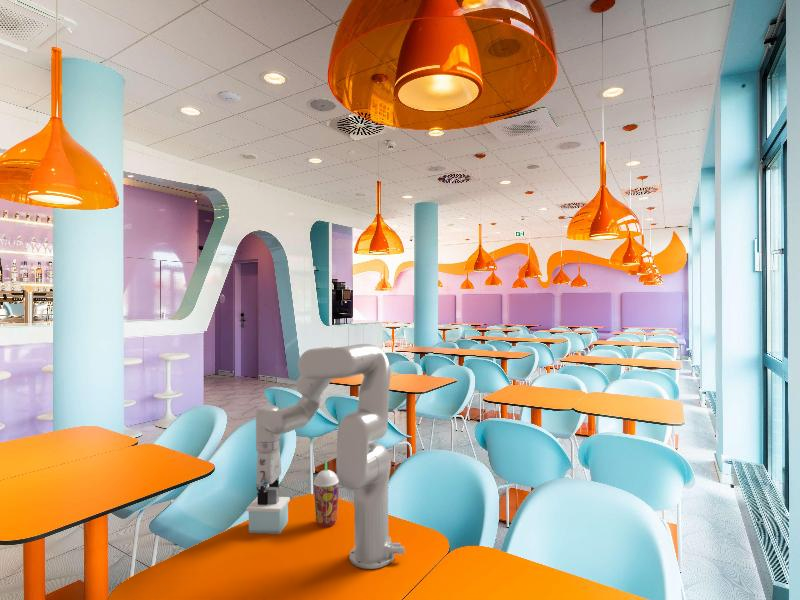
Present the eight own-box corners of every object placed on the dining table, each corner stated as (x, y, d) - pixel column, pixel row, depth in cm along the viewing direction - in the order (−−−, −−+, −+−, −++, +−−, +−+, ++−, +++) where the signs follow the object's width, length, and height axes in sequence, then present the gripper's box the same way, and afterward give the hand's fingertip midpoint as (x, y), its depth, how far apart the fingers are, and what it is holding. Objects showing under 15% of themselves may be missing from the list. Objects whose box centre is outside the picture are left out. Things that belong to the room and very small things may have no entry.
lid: (289, 502, 156) (289, 483, 156) (280, 514, 147) (280, 494, 147) (257, 501, 157) (257, 482, 157) (246, 513, 148) (246, 493, 148)
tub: (288, 522, 156) (287, 500, 156) (279, 533, 148) (279, 511, 148) (258, 521, 156) (258, 500, 157) (248, 532, 148) (248, 510, 149)
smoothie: (312, 519, 157) (311, 459, 157) (337, 516, 160) (336, 456, 160) (315, 530, 149) (314, 467, 149) (341, 526, 152) (340, 464, 152)
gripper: (269, 453, 143) (270, 510, 143) (288, 437, 161) (288, 488, 160) (245, 453, 144) (246, 509, 144) (266, 437, 161) (267, 487, 161)
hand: (268, 498), depth 152 cm, fingers open, 9 cm apart
